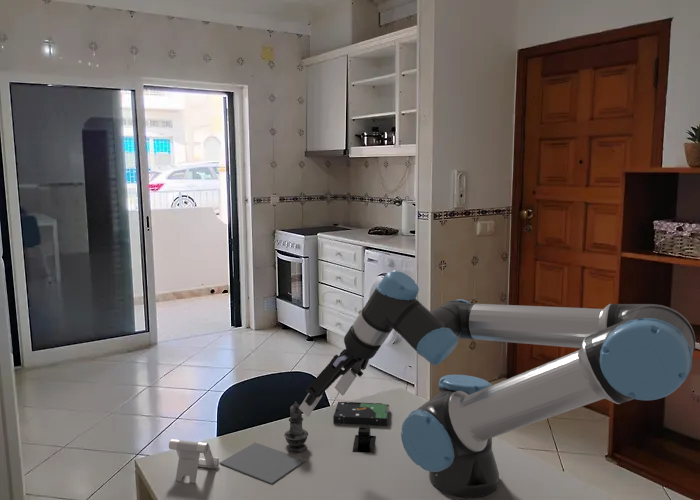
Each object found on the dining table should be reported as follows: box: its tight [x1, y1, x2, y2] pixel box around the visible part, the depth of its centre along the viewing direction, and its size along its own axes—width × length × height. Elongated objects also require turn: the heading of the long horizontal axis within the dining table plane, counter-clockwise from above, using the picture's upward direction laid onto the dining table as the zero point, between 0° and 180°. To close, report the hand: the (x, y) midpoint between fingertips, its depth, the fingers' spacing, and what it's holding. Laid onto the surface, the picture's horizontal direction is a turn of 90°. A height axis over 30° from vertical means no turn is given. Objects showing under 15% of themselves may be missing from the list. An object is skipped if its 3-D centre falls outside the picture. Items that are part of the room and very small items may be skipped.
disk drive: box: [332, 401, 390, 427], centre depth 158 cm, size 10×3×15 cm
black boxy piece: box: [351, 425, 377, 454], centre depth 143 cm, size 12×7×5 cm, turn 174°
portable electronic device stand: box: [168, 438, 220, 484], centre depth 129 cm, size 9×8×8 cm
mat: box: [219, 442, 307, 485], centre depth 134 cm, size 16×12×1 cm
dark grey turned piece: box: [283, 401, 309, 454], centre depth 140 cm, size 6×6×12 cm
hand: (322, 401), depth 130 cm, fingers open, 13 cm apart
